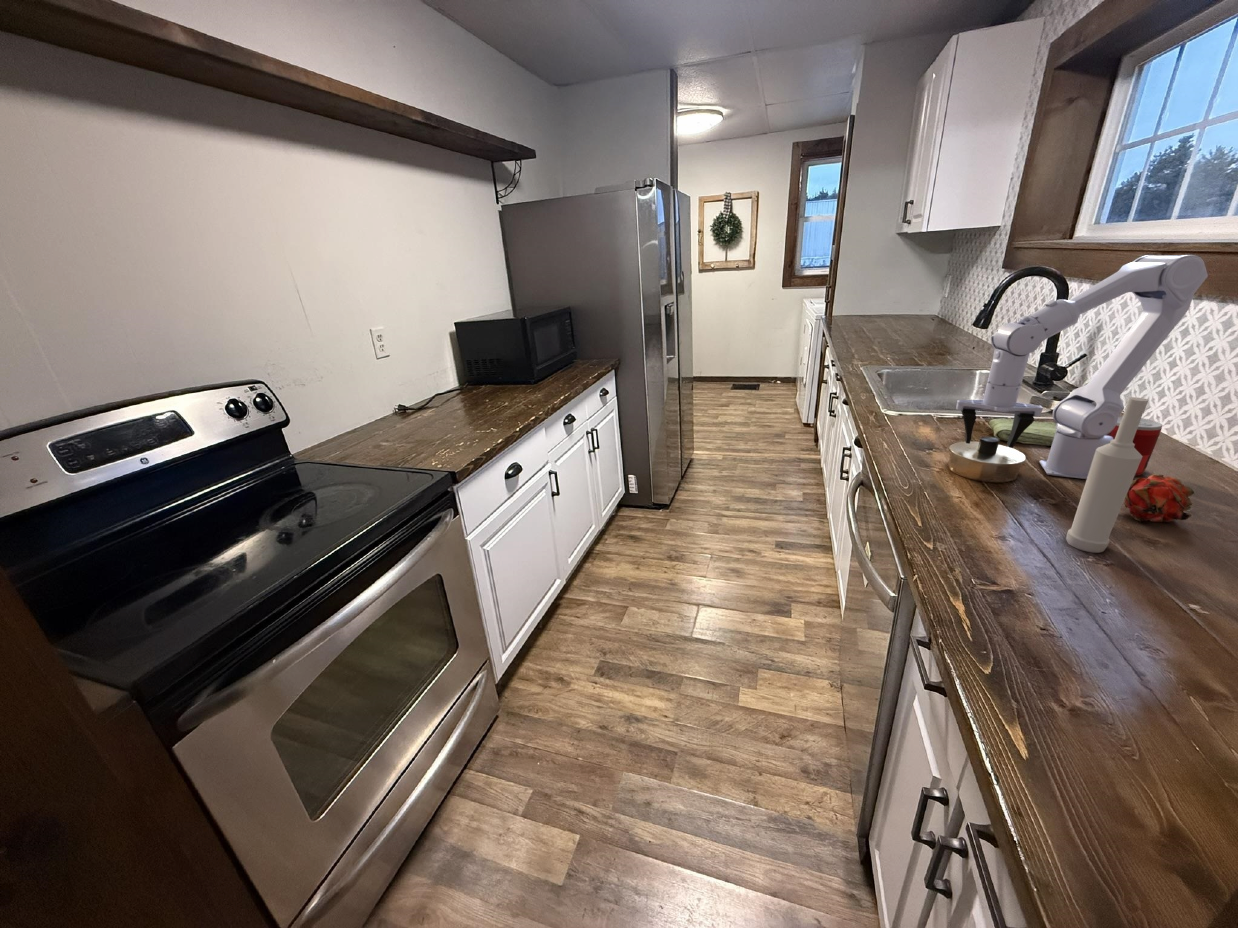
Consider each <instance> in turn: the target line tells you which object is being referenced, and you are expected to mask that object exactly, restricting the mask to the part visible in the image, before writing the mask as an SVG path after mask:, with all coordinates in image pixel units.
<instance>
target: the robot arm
mask: <svg viewBox="0 0 1238 928" xmlns="http://www.w3.org/2000/svg"><path fill="white" fill-rule="evenodd" d="M1208 277H1209V275H1208V271H1207V268H1206V264H1205V261H1204V260H1203V258H1201V256H1198V255H1194V254H1185V255H1154V254H1147V255H1142V256H1140V257H1137V258H1135V260H1133V261H1132V262H1129V263H1126V264H1123V265H1122V266H1121V267H1120V268H1119V270H1118V271H1116V272H1114V273H1113V274H1111V275H1109V276H1108V277H1106V278H1104V279H1102V280H1101V281H1099V282H1097V283H1096V284H1094V285H1093V286H1091V287H1089V288H1087V289H1086V290H1084V291H1083V292H1081V293H1079V294H1077V295H1076V296H1073V298H1070V299H1068V300H1067V299H1063V298H1062V299H1057V300H1054V299H1053V300H1051V299H1050V300H1049V301H1047V302H1045V303H1044V307H1042V308H1040V309H1038V310H1036V311H1035V312H1032V313H1030V314H1028V315H1023V316H1021V317H1019V320H1018V321H1017V322H1007V323H1004V324H1003V325H1001V326H1000V327H999V328H998V329H997V330H996V331H995V333H994V335H991V336H990V344H991V346H992V348H993V354H992V355H993V357H992V361H991V365H990V370H989V373H988V376H987V377H988V378H987V381H986V382H987V383H986V386H985V390H984V394H983V398H982V399H957V402H956V406H955V410H956V411H960V412H961V416H962V419H963V423H964V424H963V425H964V430H965V433H964V434H965V437H964V438H965V439H964V442H966V443H968V444H970V441H972V435H973V429H974V427H975V423H976V420H977V418H978V417H977V412H985V413H998V414H1009V415H1014V416H1013V419H1014V421H1013V426H1012V430H1011V433H1010V436H1009V439H1008V441H1007V442H1006V445H1007V447H1009V448H1012V449H1014V446H1015V444H1016V443H1017V442H1016V441H1017V439H1018V438H1019V437H1020V435H1021V434H1022V433H1023V432H1024V431H1025V429H1026V428H1028V427H1029V426H1030V425H1031V424H1032V423H1033V421H1035V417H1038V418H1039V417H1041V416H1042V413H1043V409H1044V407H1043V406H1042V405H1039V404H1031V403H1022V402H1018V398H1019V395H1020V391H1021V389H1022V383H1023V380H1024V376H1025V373H1026V370H1027V369H1026V368H1027V365H1028V361H1029V358H1030V354H1033V353H1034V352H1036V351H1037V349H1039V347H1040V346H1041V344H1042V343H1043V342H1044V341H1046V340H1047V339H1050V338H1051V337H1053V336H1054V335H1057V334H1058V333H1060V332H1062V331H1064V330H1066V329H1069V328H1070V327H1072V326H1075V325H1076V324H1077V323H1078V321H1079V318H1080V315H1083V314H1085V313H1086V312H1087V313H1088V312H1089V311H1091V310H1093V309H1095V308H1097V307H1099V306H1102V305H1104V304H1106V303H1109V302H1110V301H1112V300H1115V299H1116V298H1119V297H1120V296H1123V295H1126V294H1128V293H1132V294H1133V296H1135V297H1136V299H1137V300H1138V301H1139V302H1140V304H1141V307H1142V313H1141V314H1140V315H1139V316H1138V318H1137V319H1136V321H1135V322H1134V323H1133V324H1132V326H1131V327H1130V328H1129V329H1128V331H1127V332H1126V334H1125V335H1124V336H1123V337H1122V339H1121V340H1120V341H1119V343H1118V344H1117V346H1116V347H1115V348H1114V349H1113V351H1112V352H1111V353H1110V355H1109V356H1108V357H1107V358H1106V359H1105V361H1104V362H1103V364H1102V365H1101V366H1100V367H1099V369H1098V370H1097V372H1095V375H1094V376H1093V377H1092V378H1091V379H1090V380H1089V382H1088V383H1087V384H1085V385H1082V386H1079V387H1078V388H1074V389H1072V391H1071V392H1070V393H1069V394H1068V395H1067V396H1066V397H1065V398H1064V399H1062V400H1060V401H1059V402H1058V403H1057V404H1055V406H1054V408H1053V410H1052V419H1053V421H1054V423H1056V428H1057V430H1056V433H1055V436H1054V440H1053V443H1052V446H1051V447H1050V450H1049V453H1048V457H1047V459H1046V460H1044V459H1043V460H1042V459H1040V460H1039V464H1040V465H1041V467H1042V469H1044V472H1045V473H1046V475H1048V476H1054V477H1064V478H1072V479H1082V480H1087V477H1088V474H1089V471H1090V467H1091V464H1092V461H1093V458H1094V455H1095V452H1096V449H1097V448H1099V447H1101V446H1104V445H1106V444H1109V443H1110V441H1111V440H1114V439H1113V437H1111V436H1107V434H1108V433H1110V432H1111V431H1112V430H1113V429H1114V428H1115V426H1116V424H1117V420H1118V417H1120V415H1121V414H1122V412H1123V411H1125V405H1124V404H1123V400H1122V398H1121V395H1122V394H1123V393H1124V391H1125V390H1126V389H1127V387H1128V386H1129V385H1130V384H1131V383H1132V381H1133V380H1134V379H1135V378H1136V376H1137V375H1138V374H1139V373H1140V372H1141V370H1142V369H1143V368H1144V366H1145V365H1146V364H1147V363H1148V361H1149V360H1150V359H1151V358H1152V356H1153V355H1154V354H1155V353H1156V351H1158V349H1159V348H1160V346H1161V345H1162V344H1163V342H1164V341H1165V340H1166V339H1167V337H1168V336H1170V334H1171V333H1172V331H1173V330H1174V329H1175V328H1176V326H1177V325H1178V324H1179V323H1180V321H1181V320H1182V319H1183V317H1185V315H1186V314H1187V312H1188V310H1189V309H1190V307H1191V304H1192V301H1193V298H1194V297H1195V296H1194V295H1195V293H1196V292H1197V291H1198V289H1199V288H1200V287H1201V286H1202V284H1203V283H1204V282H1205V281H1206V280H1207V279H1208Z"/></svg>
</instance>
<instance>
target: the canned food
mask: <svg viewBox="0 0 1238 928" xmlns="http://www.w3.org/2000/svg"><path fill="white" fill-rule="evenodd" d="M1122 418H1123V416H1119V417H1118V420H1117V424H1116V426H1115V428H1114V429H1113V430H1112V431H1111V432H1110V433H1108V434H1107V436H1111V437H1113V439H1115V437H1116V434H1117V431H1118V429H1119V426H1120V423H1121V420H1122ZM1162 428H1163V424H1162V423H1160V422H1158V421H1155V420H1153V419H1148V418H1143V417H1141V420H1140V423H1139V425H1138V428H1137V431H1136V433H1135V436H1134V439H1133V443H1134V444H1135V445H1134V448H1135V449H1136V450H1137V451H1138V452H1139V453H1140V454H1141V455H1142V456H1143V457H1142V459H1141V461H1140V464H1139V466H1138V469H1137V471H1136V473H1135V476H1134V477H1136V476H1137V477H1138V476H1141V475H1142V474H1144V473H1145V472H1146V468H1147V467H1148V464H1149V461H1150V459H1151V457H1152V455H1153V452H1154V449H1155V447H1156V444H1157V442H1158V440H1159V437H1160V435H1161V432H1162Z"/></svg>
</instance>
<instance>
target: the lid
mask: <svg viewBox="0 0 1238 928" xmlns="http://www.w3.org/2000/svg"><path fill="white" fill-rule="evenodd" d="M999 443H1000V439H997V438H995V437H994V436H981V437H979V441H975V440H974V441H973V440H971V441H970V444H968V443H966V442H965V441H958V442H954V443H952V444H950V446H949V451H948V452H949V453H950V454H951V453H952V454H953V455H955V456H956V457H958V458H961V459H963V460H966V461H970V462H974V463H978V464H984V465H991V466H1016V465H1020V464H1021V465H1022V464H1025V462H1026V455H1025V454H1024V453H1023V452H1021V451H1019V450H1018V449H1015V448H1009V447H1008V446H1006V445H1002V444H999Z"/></svg>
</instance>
